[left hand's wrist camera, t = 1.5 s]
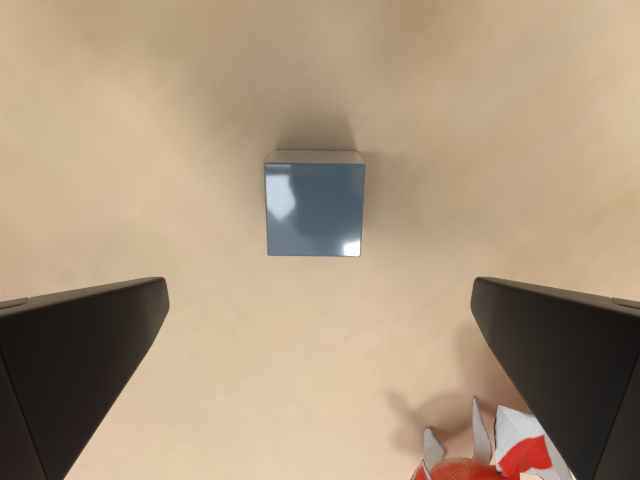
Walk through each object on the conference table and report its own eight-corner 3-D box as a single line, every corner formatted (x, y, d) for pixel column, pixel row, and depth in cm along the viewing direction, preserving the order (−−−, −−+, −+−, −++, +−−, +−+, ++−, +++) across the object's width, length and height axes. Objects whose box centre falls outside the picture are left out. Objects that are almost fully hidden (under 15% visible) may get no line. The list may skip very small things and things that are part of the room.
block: (275, 229, 23) (267, 256, 20) (273, 149, 22) (263, 162, 18) (354, 230, 23) (360, 257, 20) (357, 150, 22) (365, 163, 18)
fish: (334, 456, 24) (469, 651, 16) (502, 289, 27) (680, 385, 19) (385, 504, 30) (498, 659, 23) (515, 365, 33) (651, 459, 26)
